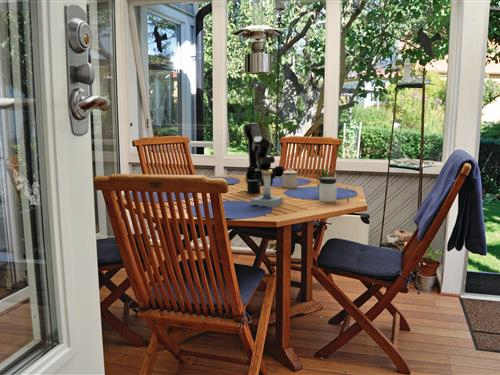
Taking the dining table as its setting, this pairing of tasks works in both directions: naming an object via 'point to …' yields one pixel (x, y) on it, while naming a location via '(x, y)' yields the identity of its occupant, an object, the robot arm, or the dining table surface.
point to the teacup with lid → (289, 178)
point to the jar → (327, 189)
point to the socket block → (267, 201)
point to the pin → (266, 183)
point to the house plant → (323, 175)
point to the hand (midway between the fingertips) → (267, 185)
